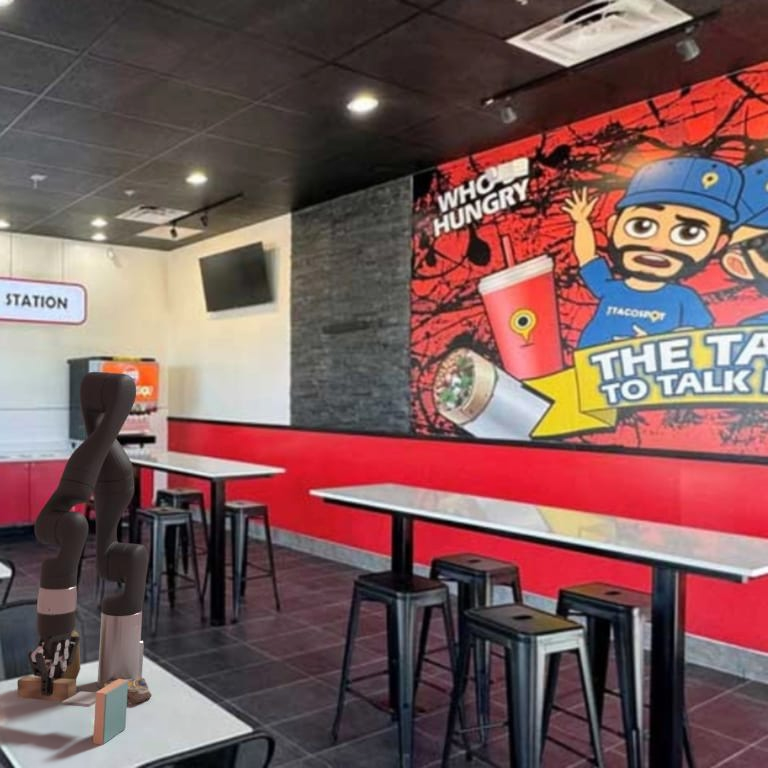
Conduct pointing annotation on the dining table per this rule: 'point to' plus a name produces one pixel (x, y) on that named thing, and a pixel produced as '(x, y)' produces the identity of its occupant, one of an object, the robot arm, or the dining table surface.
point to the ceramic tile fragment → (135, 690)
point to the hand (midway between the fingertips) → (52, 691)
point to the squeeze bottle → (74, 668)
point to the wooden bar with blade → (55, 691)
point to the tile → (110, 711)
